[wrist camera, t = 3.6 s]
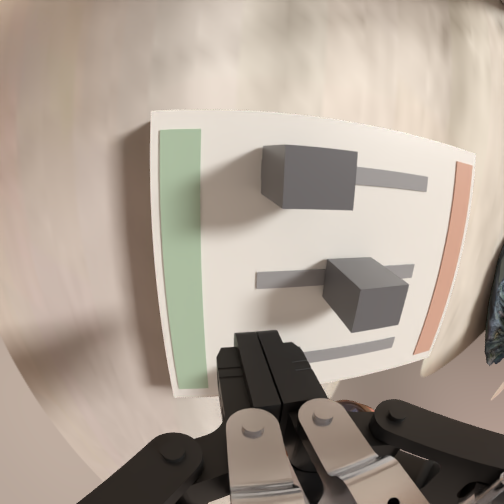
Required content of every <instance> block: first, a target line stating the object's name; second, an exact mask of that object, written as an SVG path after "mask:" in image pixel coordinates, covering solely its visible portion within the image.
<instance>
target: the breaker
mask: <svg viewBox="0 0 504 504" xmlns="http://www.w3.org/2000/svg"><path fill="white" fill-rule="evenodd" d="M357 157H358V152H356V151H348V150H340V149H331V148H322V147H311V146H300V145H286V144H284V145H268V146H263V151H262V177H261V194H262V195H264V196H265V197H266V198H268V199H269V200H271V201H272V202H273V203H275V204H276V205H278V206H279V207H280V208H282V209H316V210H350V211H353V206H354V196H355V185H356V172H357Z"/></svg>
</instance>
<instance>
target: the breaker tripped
mask: <svg viewBox="0 0 504 504" xmlns="http://www.w3.org/2000/svg"><path fill="white" fill-rule="evenodd" d="M408 288H409V284H408V283H407V282H405V281H404V280H403V279H401V278H400V277H398V276H397V275H396V274H394V273H393V272H391V271H390V270H389V269H387V268H386V267H384V266H383V265H381V264H380V263H379V262H377V261H376V260H374V259H373V258H371V257H362V258H336V259H327V264H326V272H325V280H324V287H323V294H322V297H323V298H324V299H325V301H326V302H327V303H328V304H329V306H330V307H331V308H332V309H333V311H334V312H335V313H336V314H337V316H338V317H339V318H340V319H341V321H342V322H343V323H344V324H345V326H346V327H347V328H348V329H349V331H350V332H351V333H355V332H361V331H367V330H373V329H379V328H384V327H390V326H395V325H398V324H399V321H400V318H401V314H402V311H403V307H404V303H405V299H406V296H407V292H408Z"/></svg>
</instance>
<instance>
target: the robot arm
mask: <svg viewBox="0 0 504 504" xmlns="http://www.w3.org/2000/svg"><path fill="white" fill-rule="evenodd" d="M501 1H502V2H503V3H504V0H501ZM216 362H217V384H218V394H219V401H220V407H221V414H222V421H223V422H222V424H221V425H220V427H219V428H218V429H217V430H215V431H214V432H212V433H210V434H208V435H205V436H202V437H199V438H196V439H193V438H192V437H190V436H188V435H185V434H182V433H165V434H162V435H159V436H157V437H155V438H154V439H153V440H152V441H151V442H149V443H148V444H147V445H146V446H145V447H144V448H143V449H142V450H141V451H139V452H138V453H137V454H136V455H135V456H134V457H133V458H131V459H130V460H129V461H128V462H127V463H126V464H124V465H123V466H122V467H121V468H120V469H119V470H117V471H116V472H115V473H114V474H113V475H112V476H110V477H109V478H108V479H107V480H106V481H104V482H103V483H102V484H101V485H99V486H98V487H97V488H96V489H94V490H93V491H92V492H91V493H89V494H88V495H87V496H86V497H84V498H83V499H82V500H81V501H79V502H78V503H77V504H208V502H211V501H214V500H217V499H219V498H222V497H225V496H227V495H230V502H231V504H504V435H503V434H499V433H496V432H492V431H489V430H486V429H482V428H479V427H476V426H472V425H469V424H466V423H463V422H460V421H457V420H454V419H451V418H448V417H445V416H442V415H440V414H436V413H434V412H431V411H428V410H426V409H423V408H420V407H417V406H415V405H412V404H410V403H407V402H404V401H401V400H396V399H391V400H386V401H383V402H381V403H380V404H379V405H378V406H377V407H376V409H375V411H374V412H351V411H346V410H345V409H344V408H343V406H342V405H340V404H339V403H337V402H335V401H333V400H330V399H328V397H327V396H326V394H325V392H324V390H323V388H322V386H321V384H320V382H319V381H318V379H317V377H316V375H315V373H314V371H313V369H311V366H310V364H309V362H308V361H307V358H306V356H305V354H304V353H303V351H302V349H300V348H299V347H298V346H297V345H295V344H294V343H293V342H285V343H283V342H282V339H281V337H280V335H279V333H278V331H277V330H266V331H256V332H255V331H254V332H239V333H234V347H224V348H221V349H220V351H219V353H218V355H217V357H216ZM285 448H286V451H287V454H288V457H287V455H286V451H285ZM400 449H402V450H404V451H407V452H409V453H412V454H415V455H418V456H420V457H423V458H426V459H428V460H425V459H422V458H419V457H416V456H413V455H411V454H408V453H405V452H403V451H400ZM292 479H293V480H292ZM293 482H294V483H293Z"/></svg>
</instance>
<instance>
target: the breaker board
mask: <svg viewBox="0 0 504 504" xmlns="http://www.w3.org/2000/svg"><path fill="white" fill-rule="evenodd" d="M284 144H286V145H300V146H311V147H322V148H331V149H340V150H348V151H356V152H358V157H357V172H356V185H355V196H354V206H353V211H350V210H316V209H282V208H280V207H279V206H278V205H276V204H275V203H273V202H272V201H271V200H269V199H268V198H266V197H265V196H264V195H262V194H261V177H262V151H263V146H268V145H284ZM475 163H476V154H475V153H472V152H469V151H466V150H463V149H460V148H457V147H454V146H451V145H448V144H444V143H441V142H438V141H434V140H431V139H427V138H423V137H420V136H416V135H412V134H408V133H404V132H400V131H395V130H391V129H386V128H382V127H377V126H372V125H367V124H362V123H356V122H350V121H344V120H338V119H331V118H324V117H317V116H309V115H300V114H291V113H280V112H268V111H252V110H226V109H184V110H159V111H151V125H150V193H151V218H152V235H153V250H154V262H155V273H156V283H157V292H158V301H159V309H160V317H161V325H162V332H163V338H164V345H165V351H166V357H167V363H168V369H169V374H170V380H171V385H172V390H173V395H174V398H180V397H212V396H219V394H218V384H217V362H216V357H217V355H218V353H219V351H220V349H221V348H224V347H234V333H239V332H254V331H255V332H256V331H266V330H277V331H278V333H279V335H280V337H281V339H282V342H283V343H285V342H293V343H294V344H295V345H297V346H298V347H299V346H300V348H301V349H302V351H303V353H304V354H305V356H306V358H307V361H308V362H309V364H310V366H311V369H313V371H314V373H315V375H316V377H317V379H318V381H319V382H320V384H324V383H329V382H334V381H339V380H344V379H348V378H353V377H358V376H363V375H367V374H371V373H375V372H379V371H383V370H387V369H391V368H394V367H398V366H401V365H405V364H408V363H412V362H415V361H418V360H421V359H425V358H428V357H429V356H430V353H431V351H432V348H433V346H434V343H435V341H436V338H437V335H438V333H439V330H440V327H441V324H442V322H443V319H444V316H445V313H446V310H447V307H448V303H449V300H450V297H451V294H452V290H453V287H454V283H455V280H456V276H457V272H458V268H459V264H460V260H461V256H462V251H463V247H464V242H465V237H466V232H467V226H468V221H469V215H470V208H471V201H472V194H473V185H474V175H475ZM362 257H371V258H373V259H374V260H376V261H377V262H379V263H380V264H381V265H383V266H384V267H386V268H387V269H389V270H390V271H391V272H393V273H394V274H396V275H397V276H398V277H400V278H401V279H403V280H404V281H405V282H407V283H408V284H409V288H408V292H407V296H406V299H405V303H404V307H403V311H402V314H401V318H400V321H399V324H398V325H395V326H390V327H384V328H379V329H373V330H367V331H361V332H355V333H351V332H350V331H349V329H348V328H347V327H346V326H345V324H344V323H343V322H342V321H341V319H340V318H339V317H338V316H337V314H336V313H335V312H334V311H333V309H332V308H331V307H330V306H329V304H328V303H327V302H326V301H325V299H324V298H323V297H322V294H323V287H324V280H325V272H326V264H327V259H336V258H362Z"/></svg>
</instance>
